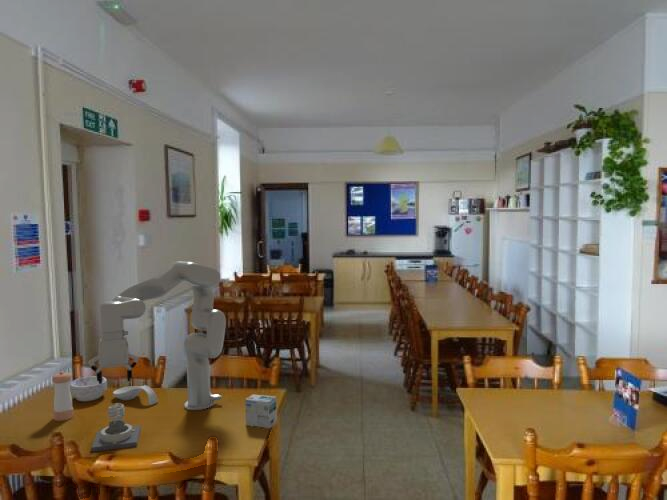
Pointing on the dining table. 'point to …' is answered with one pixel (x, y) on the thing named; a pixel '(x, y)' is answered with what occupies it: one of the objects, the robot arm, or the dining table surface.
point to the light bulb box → (261, 411)
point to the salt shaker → (62, 397)
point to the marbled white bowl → (88, 388)
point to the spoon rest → (136, 393)
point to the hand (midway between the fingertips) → (114, 381)
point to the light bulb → (119, 423)
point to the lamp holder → (116, 438)
